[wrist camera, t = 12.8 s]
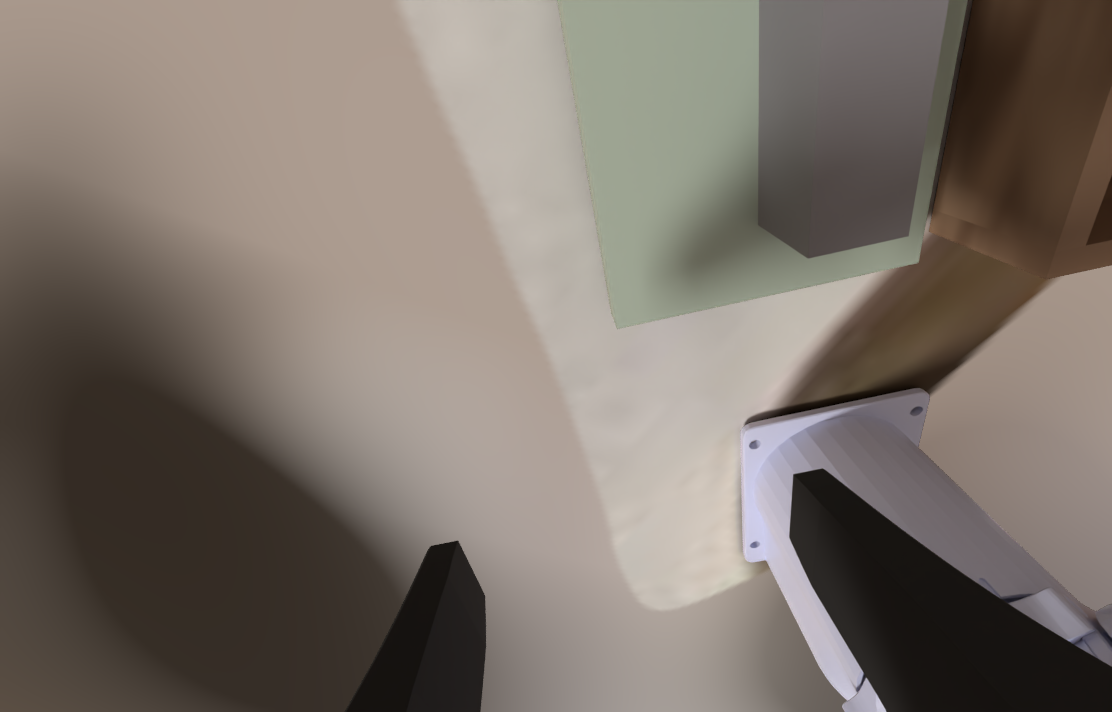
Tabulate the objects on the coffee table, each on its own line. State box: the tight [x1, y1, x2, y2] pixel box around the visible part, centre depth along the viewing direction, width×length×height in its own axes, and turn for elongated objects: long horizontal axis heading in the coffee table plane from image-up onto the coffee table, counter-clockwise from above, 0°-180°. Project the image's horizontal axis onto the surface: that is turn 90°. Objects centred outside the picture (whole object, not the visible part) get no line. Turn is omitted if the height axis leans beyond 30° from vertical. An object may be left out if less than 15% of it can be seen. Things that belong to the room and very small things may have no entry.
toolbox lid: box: [557, 0, 968, 329], centre depth 12 cm, size 14×10×5 cm
